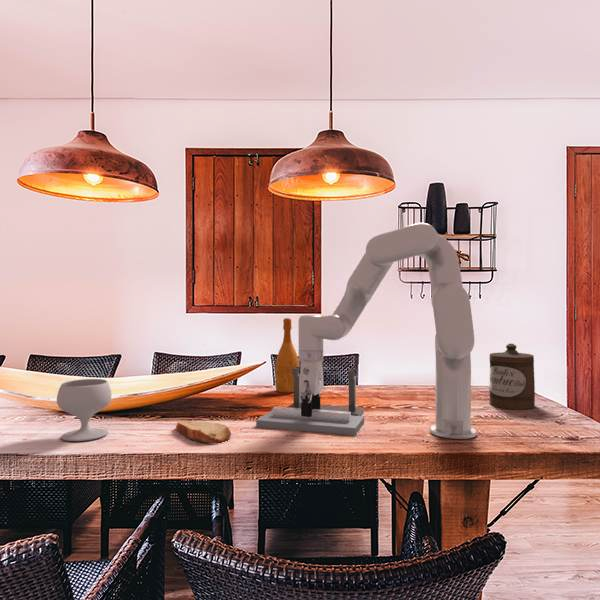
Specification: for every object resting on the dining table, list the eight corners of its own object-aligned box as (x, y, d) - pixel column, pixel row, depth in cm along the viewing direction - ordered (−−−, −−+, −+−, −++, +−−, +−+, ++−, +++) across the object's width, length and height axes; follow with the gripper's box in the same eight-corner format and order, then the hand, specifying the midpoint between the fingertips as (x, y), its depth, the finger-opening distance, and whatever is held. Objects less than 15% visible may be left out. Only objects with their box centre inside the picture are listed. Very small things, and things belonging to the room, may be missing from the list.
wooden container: (481, 404, 175) (481, 343, 175) (501, 399, 184) (501, 341, 184) (523, 412, 164) (523, 346, 163) (541, 405, 173) (541, 343, 173)
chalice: (52, 434, 137) (51, 381, 137) (103, 426, 146) (103, 376, 146) (63, 447, 126) (62, 389, 126) (118, 437, 135) (118, 383, 135)
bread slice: (178, 427, 147) (178, 414, 147) (238, 427, 146) (238, 415, 146) (158, 445, 129) (158, 431, 129) (226, 446, 128) (226, 431, 128)
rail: (349, 422, 143) (349, 413, 143) (272, 416, 150) (272, 408, 150) (351, 420, 145) (351, 411, 145) (275, 414, 152) (275, 406, 152)
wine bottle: (303, 390, 202) (303, 318, 202) (291, 394, 194) (291, 319, 194) (283, 388, 207) (283, 317, 207) (270, 392, 199) (270, 318, 199)
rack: (358, 419, 154) (358, 372, 154) (284, 413, 162) (283, 369, 162) (364, 412, 164) (364, 368, 164) (293, 407, 171) (293, 365, 171)
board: (355, 435, 136) (355, 428, 136) (256, 426, 145) (256, 420, 145) (364, 422, 150) (364, 416, 150) (272, 415, 159) (272, 409, 159)
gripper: (315, 359, 138) (315, 420, 138) (329, 353, 154) (329, 407, 155) (290, 358, 140) (290, 418, 140) (307, 352, 157) (307, 405, 157)
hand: (311, 412), depth 147 cm, fingers open, 9 cm apart
